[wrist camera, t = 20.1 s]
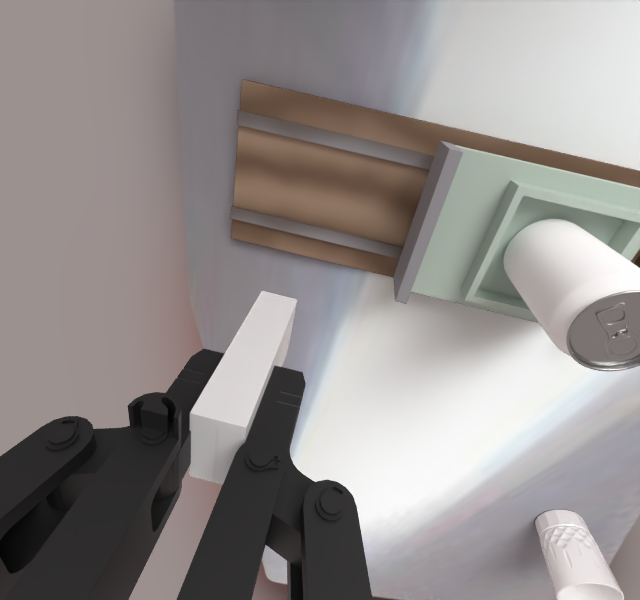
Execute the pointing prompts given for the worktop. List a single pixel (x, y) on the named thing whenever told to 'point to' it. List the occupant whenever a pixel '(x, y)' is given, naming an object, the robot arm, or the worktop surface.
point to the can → (578, 293)
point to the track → (350, 175)
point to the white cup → (574, 558)
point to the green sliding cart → (500, 224)
